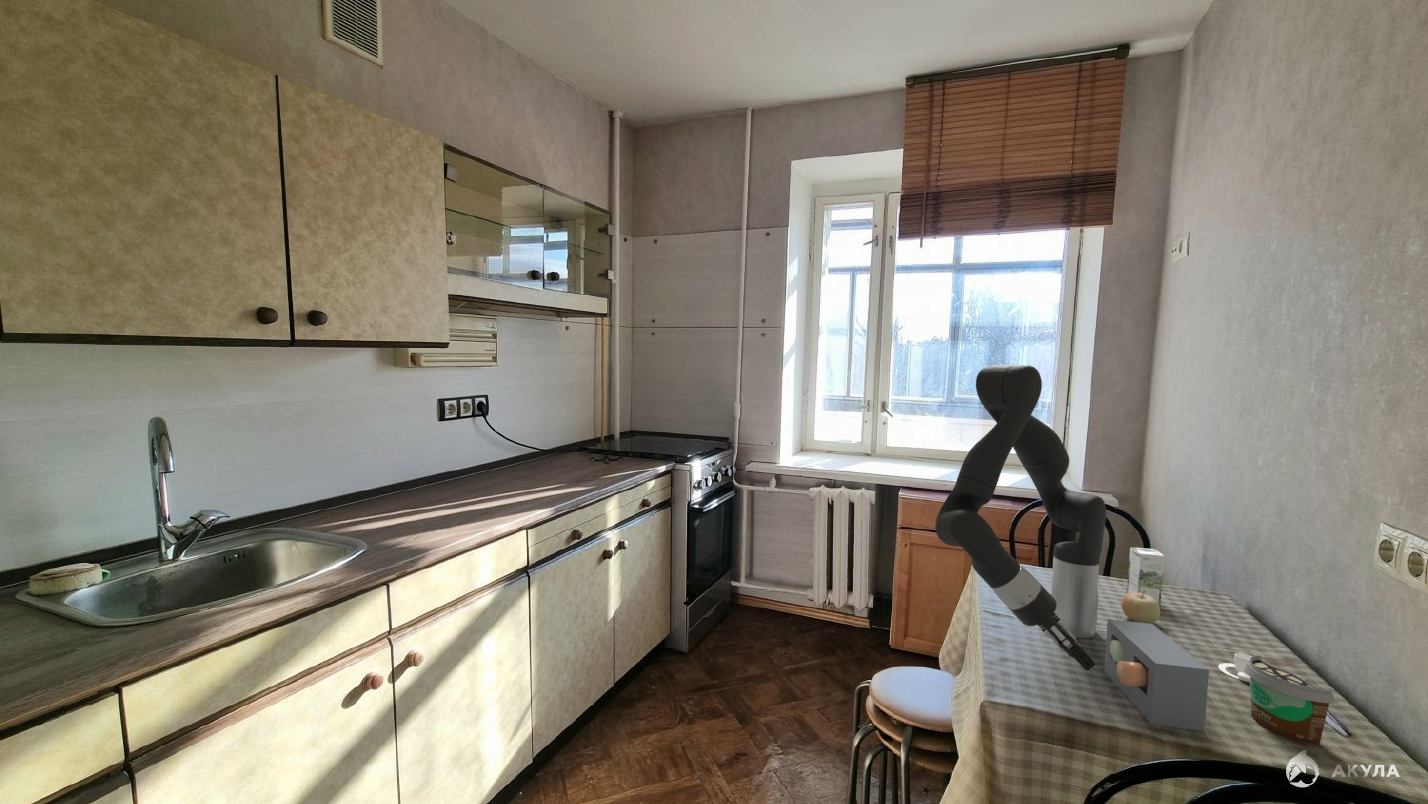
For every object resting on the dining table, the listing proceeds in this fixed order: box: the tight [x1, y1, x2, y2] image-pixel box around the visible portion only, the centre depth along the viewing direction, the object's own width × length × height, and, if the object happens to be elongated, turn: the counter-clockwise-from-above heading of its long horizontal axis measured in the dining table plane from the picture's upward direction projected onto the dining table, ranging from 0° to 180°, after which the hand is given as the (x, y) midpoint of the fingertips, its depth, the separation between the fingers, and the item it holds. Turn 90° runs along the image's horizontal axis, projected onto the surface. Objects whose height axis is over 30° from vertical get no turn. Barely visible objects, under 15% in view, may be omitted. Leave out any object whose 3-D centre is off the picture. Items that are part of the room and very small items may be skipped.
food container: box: [1245, 654, 1335, 745], centre depth 99 cm, size 12×6×10 cm, turn 5°
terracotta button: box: [1117, 661, 1149, 687], centre depth 103 cm, size 4×4×4 cm
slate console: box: [1103, 618, 1210, 732], centre depth 106 cm, size 8×18×11 cm, turn 167°
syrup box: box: [1126, 546, 1166, 608], centre depth 152 cm, size 6×6×14 cm
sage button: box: [1110, 640, 1124, 662], centre depth 111 cm, size 4×4×4 cm
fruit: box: [1121, 591, 1161, 624], centre depth 141 cm, size 8×7×8 cm
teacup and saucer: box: [1217, 652, 1253, 683], centre depth 116 cm, size 9×8×4 cm
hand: (1090, 665), depth 105 cm, fingers closed
